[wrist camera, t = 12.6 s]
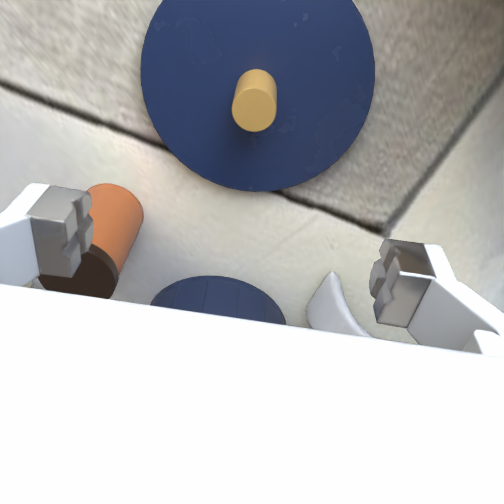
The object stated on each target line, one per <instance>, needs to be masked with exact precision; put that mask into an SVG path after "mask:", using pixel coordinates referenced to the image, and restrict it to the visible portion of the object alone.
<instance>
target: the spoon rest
mask: <svg viewBox="0 0 504 504" xmlns="http://www.w3.org/2000/svg"><path fill="white" fill-rule="evenodd" d="M306 315H307V319H308V322H309V325H310V327H311V329H314V330H321V331H328V332H335V333H341V334H348V335H355V336H362V337H369V338H373V337H372V336H371V335H369V334H368V333H367V332H366V331H365V330H364V329H363V328H362V327H361V326H360V324H359V323H358V322H357V321H356V319H355V318H354V317H353V315H352V313H351V312H350V310H349V307H348V305H347V303H346V300H345V297H344V294H343V291H342V286H341V283H340V279H339V276H338V275H337V274H336V273H335V272H333V271H332V272H330V273H329V274H328V275H327V276H326V277H325V279H324V280H323V282H322V283H321V285H320V287H319V288H318V289H317V291H316V292H315V294H314V295H313V297H312V298H311V300H310V301H309V303H308V305H307V307H306Z"/></svg>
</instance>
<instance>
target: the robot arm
mask: <svg viewBox="0 0 504 504" xmlns="http://www.w3.org/2000/svg"><path fill="white" fill-rule="evenodd" d="M91 207H92V199H91V195H90V193H89V192H87V191H81V190H76V189H70V188H64V187H58V186H51V185H47V184H40V183H30V184H29V185H28V186H27V187H26V188H25V189H24V190H23V191H22V192H21V193H20V194H19V196H18V197H17V198H16V199H15V200H14V201H13V202H12V203H11V204H10V205H9V206H8V207H7V208H6V210H5V211H4V212H3V213H1V212H0V504H504V314H503V313H502V312H501V311H499V310H498V309H497V308H495V307H494V306H493V305H491V304H490V303H489V302H487V301H486V300H485V299H483V298H482V297H481V296H479V295H478V294H477V293H475V292H474V291H473V290H471V289H470V288H469V287H468V286H466V285H465V284H464V283H460V282H457V280H456V278H455V275H454V273H453V271H452V269H451V267H450V265H449V262H448V260H447V258H446V256H445V254H444V251H443V249H442V247H440V246H439V245H433V244H425V243H416V242H408V241H401V240H393V239H385V240H384V241H383V242H382V245H381V247H380V249H379V252H380V256H381V258H380V259H379V260H377V261H376V262H375V263H374V265H373V268H372V270H371V274H370V280H369V288H370V294H371V295H372V296H373V297H374V298H375V299H376V300H375V302H374V305H373V308H374V312H375V317H376V321H377V323H379V324H385V325H391V326H396V327H402V328H407V331H408V332H409V333H410V334H411V335H412V337H413V338H414V339H415V340H416V341H417V342H418V344H419V345H416V344H410V343H403V342H396V341H389V340H382V339H375V338H369V337H362V336H355V335H348V334H341V333H335V332H328V331H321V330H314V329H307V328H300V327H294V326H287V325H280V324H273V323H266V322H259V321H253V320H246V319H239V318H232V317H225V316H219V315H212V314H205V313H198V312H191V311H184V310H178V309H171V308H164V307H157V306H150V305H144V304H137V303H130V302H123V301H116V300H110V299H103V298H96V297H89V296H82V295H75V294H69V293H62V292H55V291H48V290H41V289H35V288H28V287H22V286H24V285H25V284H27V283H29V282H30V281H32V280H33V279H35V278H37V277H38V276H40V274H44V275H52V276H60V277H69V278H72V277H73V276H74V274H75V272H76V270H77V269H78V267H79V265H80V263H81V255H82V254H84V253H86V252H87V251H88V249H89V248H90V246H91V242H92V239H93V233H94V221H93V219H92V217H91V216H90V215H89V214H88V212H89V210H90V209H91Z"/></svg>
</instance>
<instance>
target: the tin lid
mask: <svg viewBox="0 0 504 504" xmlns="http://www.w3.org/2000/svg"><path fill="white" fill-rule="evenodd" d="M140 70H141V86H142V92H143V97H144V102H145V105H146V108H147V111H148V114H149V117H150V119H151V121H152V123H153V126H154V128H155V129H156V131H157V133H158V134H159V136H160V138H161V139H162V141H163V142H164V143H165V145H166V146H167V147H168V149H169V150H170V151H171V152H172V153H173V154H174V155H175V156H176V157H177V158H178V159H179V160H180V161H181V162H182V163H183V164H184V165H186V166H187V167H188V168H189V169H191V170H192V171H194V172H195V173H197V174H198V175H200V176H201V177H203V178H205V179H207V180H209V181H211V182H214V183H216V184H219V185H222V186H225V187H228V188H232V189H237V190H243V191H252V192H262V191H274V190H281V189H285V188H289V187H293V186H295V185H298V184H301V183H303V182H306V181H308V180H309V179H311V178H313V177H315V176H317V175H319V174H320V173H322V172H323V171H325V170H326V169H327V168H329V167H330V166H331V165H332V164H333V163H335V162H336V161H337V160H338V159H339V158H340V157H341V156H342V155H343V154H344V153H345V151H346V150H347V149H348V148H349V147H350V145H351V144H352V143H353V141H354V140H355V138H356V137H357V135H358V133H359V131H360V130H361V128H362V126H363V124H364V122H365V119H366V116H367V114H368V111H369V108H370V104H371V100H372V96H373V90H374V82H375V62H374V55H373V48H372V44H371V40H370V37H369V33H368V30H367V28H366V25H365V23H364V21H363V19H362V16H361V14H360V13H359V11H358V9H357V8H356V6H355V5H354V3H353V1H352V0H163V1H162V2H161V4H160V5H159V7H158V8H157V10H156V12H155V14H154V16H153V18H152V20H151V22H150V25H149V28H148V30H147V33H146V36H145V40H144V45H143V49H142V56H141V69H140Z"/></svg>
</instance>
